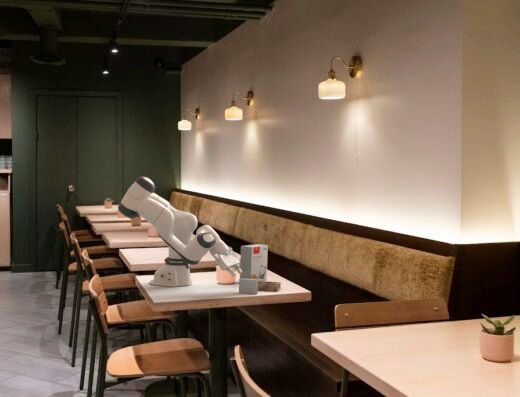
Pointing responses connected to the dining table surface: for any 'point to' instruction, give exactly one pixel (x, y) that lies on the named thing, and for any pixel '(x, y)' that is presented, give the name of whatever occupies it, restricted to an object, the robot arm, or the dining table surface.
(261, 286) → the walnut box
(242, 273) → the hard drive box
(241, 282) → the gray rectangular block
